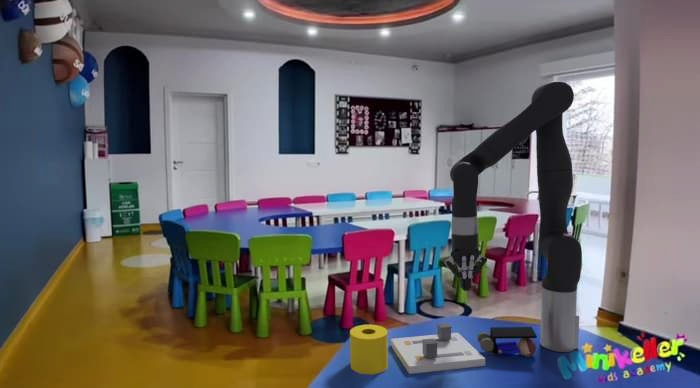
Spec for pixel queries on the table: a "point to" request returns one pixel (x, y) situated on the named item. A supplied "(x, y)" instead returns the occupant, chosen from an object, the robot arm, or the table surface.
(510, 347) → the black toy car
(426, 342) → the on handle
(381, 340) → the tape roll
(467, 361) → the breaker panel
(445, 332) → the handle
